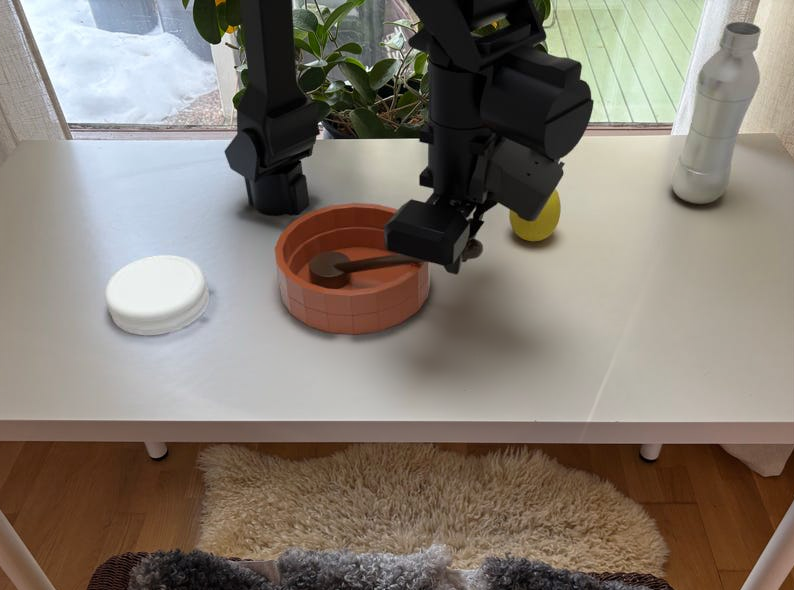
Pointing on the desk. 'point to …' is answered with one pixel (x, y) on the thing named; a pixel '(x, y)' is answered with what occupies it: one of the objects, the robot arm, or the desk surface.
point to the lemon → (538, 221)
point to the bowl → (366, 291)
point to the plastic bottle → (718, 115)
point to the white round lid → (157, 295)
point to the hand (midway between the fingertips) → (457, 266)
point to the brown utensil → (365, 265)
